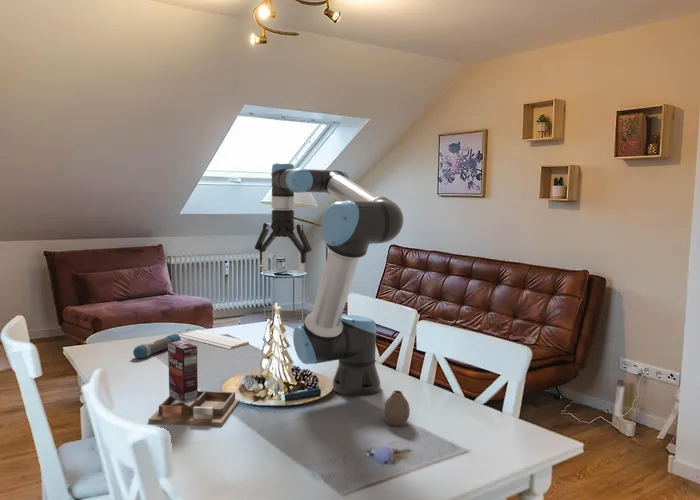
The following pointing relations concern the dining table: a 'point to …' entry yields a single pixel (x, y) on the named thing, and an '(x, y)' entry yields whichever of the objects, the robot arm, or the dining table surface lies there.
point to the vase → (396, 409)
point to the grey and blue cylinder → (154, 346)
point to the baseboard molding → (213, 339)
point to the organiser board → (197, 409)
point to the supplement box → (183, 371)
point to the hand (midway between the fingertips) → (282, 271)
